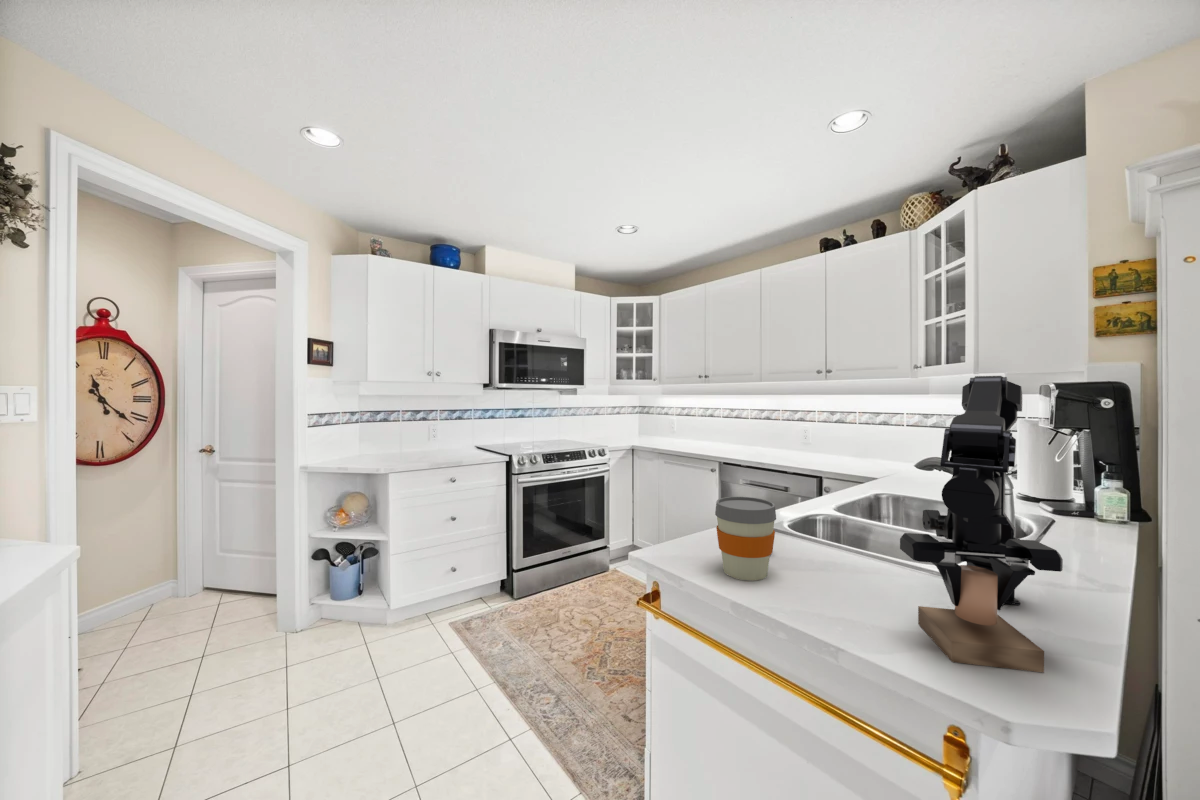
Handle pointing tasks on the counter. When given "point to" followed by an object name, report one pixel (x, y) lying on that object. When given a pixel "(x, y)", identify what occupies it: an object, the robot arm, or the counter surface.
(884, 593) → the counter surface
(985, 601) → the tan cylinder
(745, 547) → the reusable coffee cup
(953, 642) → the walnut block
